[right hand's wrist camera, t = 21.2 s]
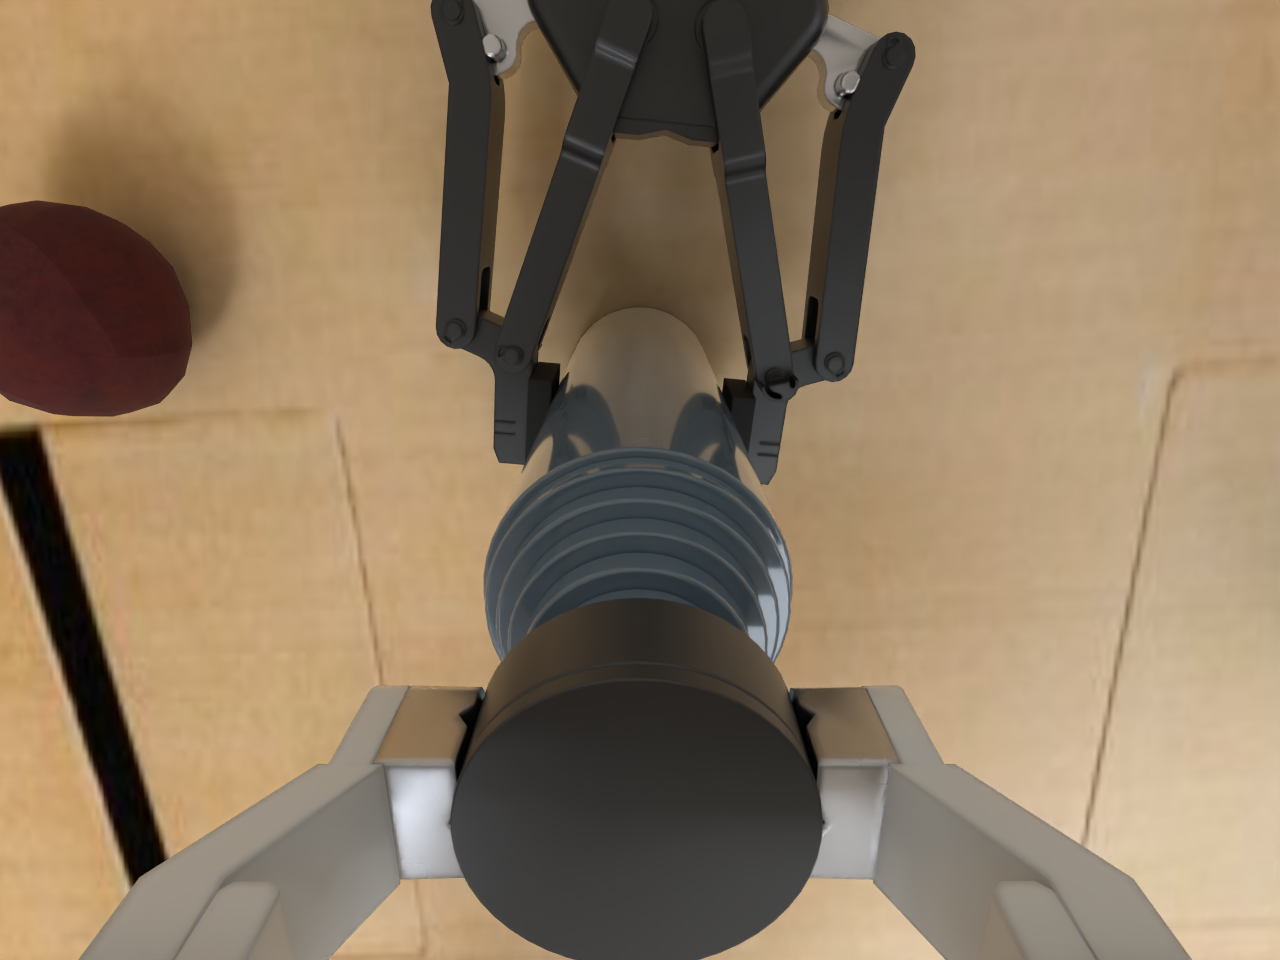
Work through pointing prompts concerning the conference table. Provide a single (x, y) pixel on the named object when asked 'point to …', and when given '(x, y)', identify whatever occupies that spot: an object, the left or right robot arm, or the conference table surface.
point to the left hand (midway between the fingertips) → (626, 552)
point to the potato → (86, 313)
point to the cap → (636, 786)
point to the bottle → (638, 494)
